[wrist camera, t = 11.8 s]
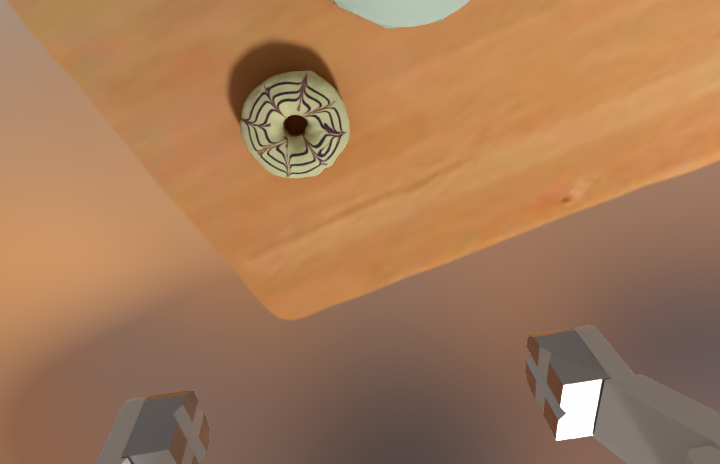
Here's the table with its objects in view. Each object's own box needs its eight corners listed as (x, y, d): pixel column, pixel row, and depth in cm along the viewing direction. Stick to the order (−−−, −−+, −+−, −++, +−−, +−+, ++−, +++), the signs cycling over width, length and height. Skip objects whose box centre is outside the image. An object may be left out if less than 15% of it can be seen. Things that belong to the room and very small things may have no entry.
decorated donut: (366, 132, 48) (370, 143, 45) (286, 185, 51) (284, 200, 47) (308, 45, 44) (308, 51, 40) (223, 108, 46) (216, 118, 43)
